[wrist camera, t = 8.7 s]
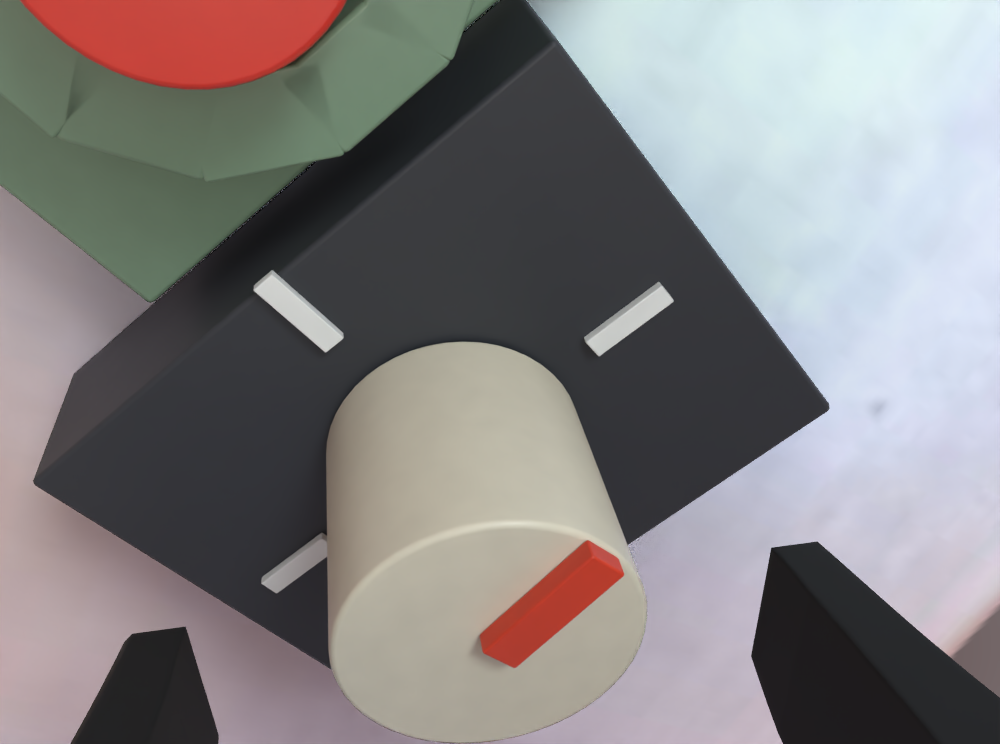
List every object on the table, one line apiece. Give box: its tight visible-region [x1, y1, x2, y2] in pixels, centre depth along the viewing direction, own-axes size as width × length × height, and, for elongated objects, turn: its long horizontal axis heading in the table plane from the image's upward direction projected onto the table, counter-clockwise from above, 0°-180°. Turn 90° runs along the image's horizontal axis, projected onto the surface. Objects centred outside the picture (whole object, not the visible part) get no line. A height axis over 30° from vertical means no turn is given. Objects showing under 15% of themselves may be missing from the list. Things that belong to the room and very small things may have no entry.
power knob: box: [326, 341, 647, 743], centre depth 13 cm, size 4×4×4 cm
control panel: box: [33, 0, 829, 670], centre depth 16 cm, size 10×8×3 cm
